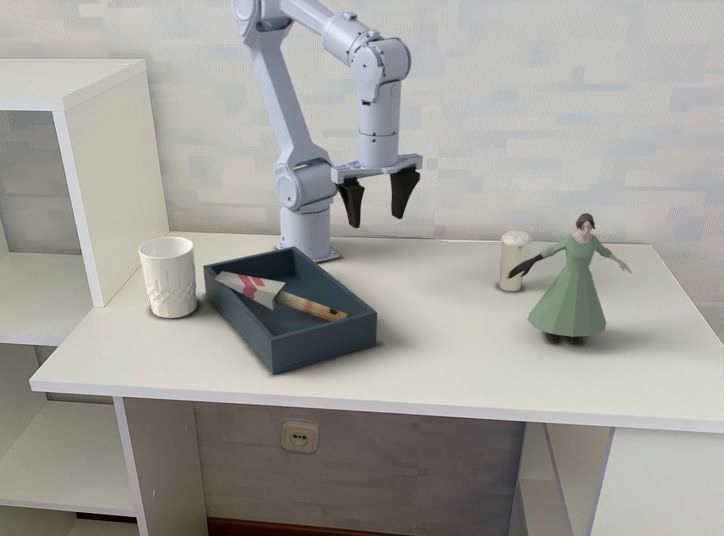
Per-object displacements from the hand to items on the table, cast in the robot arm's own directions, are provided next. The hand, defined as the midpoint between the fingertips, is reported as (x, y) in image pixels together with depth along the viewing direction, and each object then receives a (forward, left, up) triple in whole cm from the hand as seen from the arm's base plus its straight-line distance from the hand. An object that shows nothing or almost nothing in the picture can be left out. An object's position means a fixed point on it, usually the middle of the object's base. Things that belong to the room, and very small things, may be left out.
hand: (375, 221), depth 108 cm
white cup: (-7, -31, -11) cm, 34 cm away
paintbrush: (+4, -18, -8) cm, 20 cm away
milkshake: (+12, +18, -11) cm, 24 cm away
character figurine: (+27, +13, -11) cm, 32 cm away
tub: (+4, -18, -10) cm, 21 cm away
